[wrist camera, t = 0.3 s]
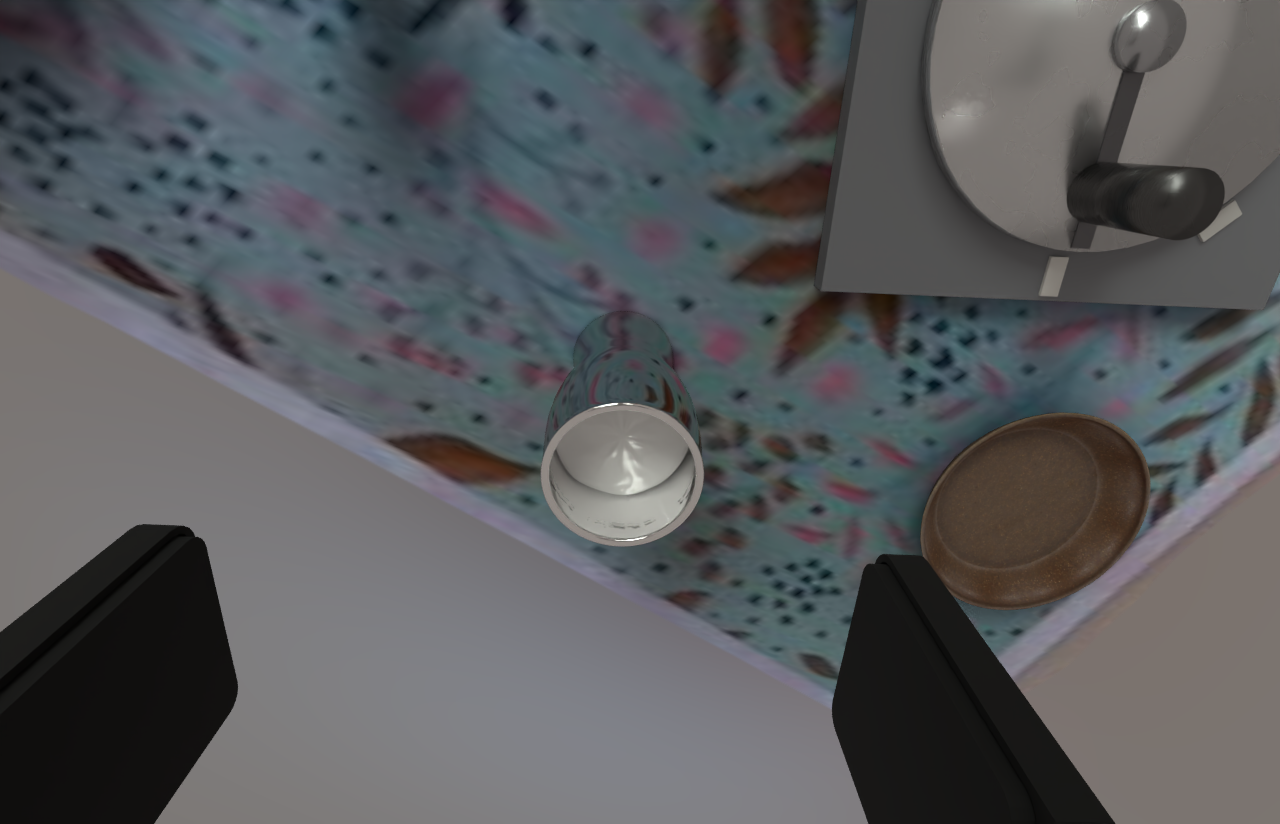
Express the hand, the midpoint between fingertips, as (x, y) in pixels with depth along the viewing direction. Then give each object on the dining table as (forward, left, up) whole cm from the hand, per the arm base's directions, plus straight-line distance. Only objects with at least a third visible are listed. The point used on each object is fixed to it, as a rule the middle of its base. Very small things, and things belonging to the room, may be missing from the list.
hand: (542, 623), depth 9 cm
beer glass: (+6, +1, -31) cm, 31 cm away
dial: (-12, +25, -29) cm, 40 cm away
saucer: (+15, +28, -31) cm, 45 cm away
